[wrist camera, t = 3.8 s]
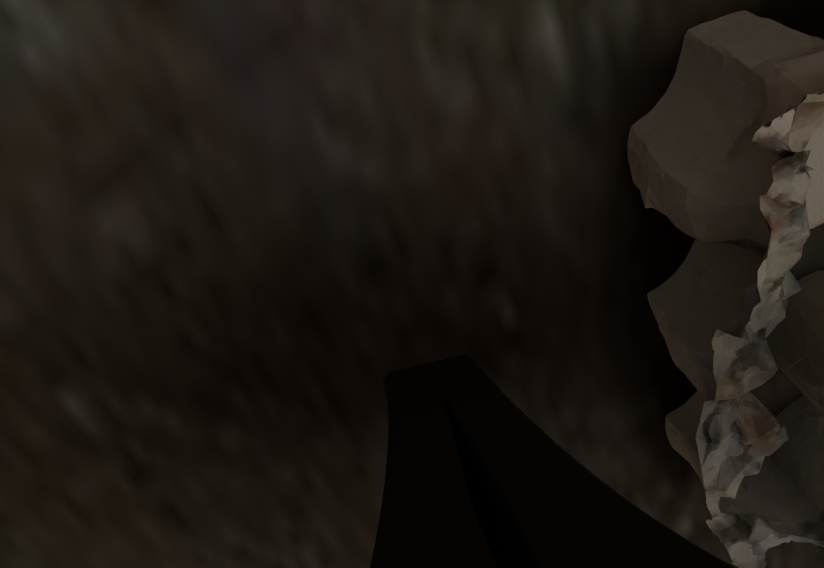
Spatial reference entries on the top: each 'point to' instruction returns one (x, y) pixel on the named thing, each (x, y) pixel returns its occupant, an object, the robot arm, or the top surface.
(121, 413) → the top surface
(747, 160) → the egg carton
